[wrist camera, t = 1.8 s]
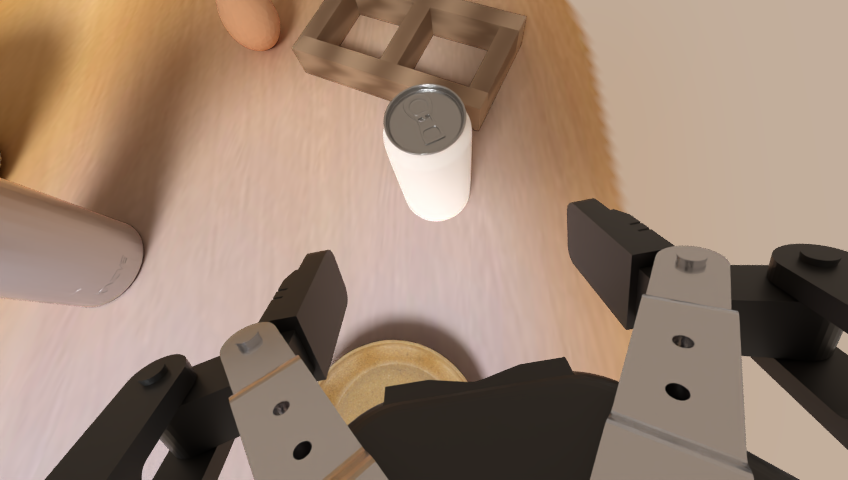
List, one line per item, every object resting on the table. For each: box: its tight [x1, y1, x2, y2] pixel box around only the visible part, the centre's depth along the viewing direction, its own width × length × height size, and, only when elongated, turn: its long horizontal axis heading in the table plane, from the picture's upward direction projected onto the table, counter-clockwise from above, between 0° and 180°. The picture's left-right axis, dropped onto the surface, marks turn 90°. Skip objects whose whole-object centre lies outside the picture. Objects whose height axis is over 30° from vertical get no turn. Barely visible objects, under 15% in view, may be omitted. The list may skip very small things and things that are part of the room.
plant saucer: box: [318, 340, 468, 426], centre depth 28 cm, size 15×15×3 cm
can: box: [383, 84, 472, 221], centre depth 29 cm, size 6×6×12 cm
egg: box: [216, 0, 280, 51], centre depth 39 cm, size 6×6×8 cm
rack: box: [292, 0, 527, 131], centre depth 38 cm, size 22×12×4 cm, turn 64°
